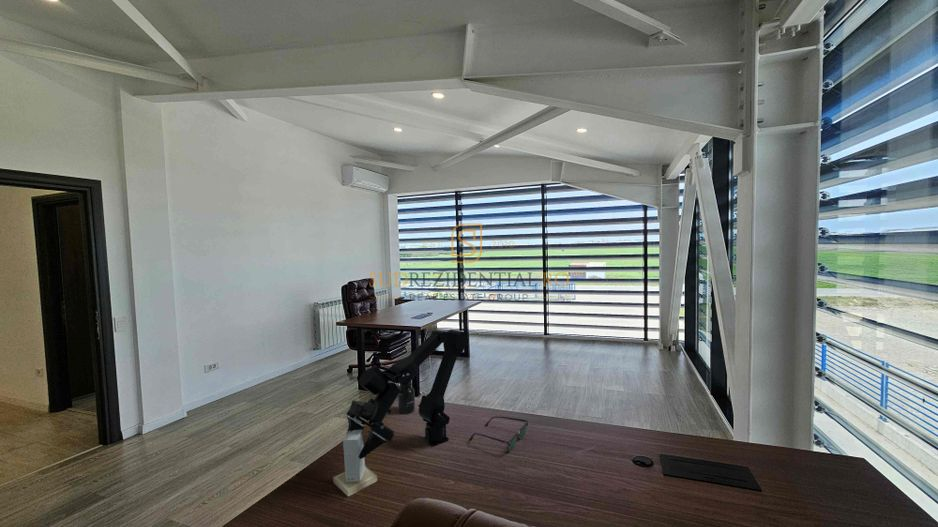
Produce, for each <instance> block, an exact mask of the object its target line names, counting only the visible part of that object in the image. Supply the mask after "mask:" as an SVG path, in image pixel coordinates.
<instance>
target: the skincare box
mask: <svg viewBox="0 0 938 527" xmlns="http://www.w3.org/2000/svg"><path fill="white" fill-rule="evenodd" d="M347 431H348V430H347ZM342 444H343V445H342V447H343V457H344V460H343V461H344V462H343V463H344V472H345V478H346V482H360V481H361V479H362V477H363V474H364V471H365V467H366V462H365V457H364V458H362V459H360V458H359V454H360V452H361V450H362V448H363V447H364V435H363V430H352V431H348V433H347V432H346V434H345V436H344V439H343V441H342Z"/></svg>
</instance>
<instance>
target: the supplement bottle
mask: <svg viewBox="0 0 938 527" xmlns="http://www.w3.org/2000/svg"><path fill="white" fill-rule="evenodd" d="M400 385H401V386H403V387H404V391H405V396H403V395H400V394H399V395H398V396H397V404H398V405H397V408H398V413H400V414H402V415H407V414H412V413H413V412H415V409H416V408H415V407H416V405H415V404H416V402H415V401H416V400H415V399H416V396H415V389H414V387H413V382H412V381H411V382H410V383H409V384H407V385H402V384H400V383H399V386H400Z"/></svg>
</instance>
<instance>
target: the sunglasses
mask: <svg viewBox="0 0 938 527" xmlns="http://www.w3.org/2000/svg"><path fill="white" fill-rule="evenodd" d="M495 418H497V419H498V418H499V419H506V420H512V421H518V422H523V423H524V424H523V425H522V426H521V428H520V429H519V430H518V432H515V434H514V435H513V437H512V438H510V439H509V440H508V441H506V440H503V439H499V438H496V437H492V436H489V435H485V434H482V433H478V432H477V433H476V432H475V433H473V434H472V435H471V437H470V438H471V439H470V440H472V439H473V438H474V436H475V435H477V436H481V437H484V438H488V439H491V440H493V441H498V442H500V443H503V444H507V445H508V448H509V449H508V450H509V452H510V453H511V452H512V451H513V450H514V449H515V447H516V444H517V440H518V438H519V439H520V440H523V439H524V437H525V436H526V433H527V430H528V429H527V428H528V426H529V422H530V421H529V420H528V419H523V418H515V417H509V416H493V417H491V418H490V419H489V420H488V421H487V422H486V423H485V425H484V427H488V425H489V423H490V422H491V420H492V419H495ZM517 437H518V438H517Z"/></svg>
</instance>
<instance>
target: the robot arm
mask: <svg viewBox="0 0 938 527" xmlns="http://www.w3.org/2000/svg"><path fill="white" fill-rule="evenodd" d="M468 340H469V337H468V334H467V333H466V332H465V331H462V330H455V329H449V330H447V331H445V330H444V331H443V330H439V329H434V330H433V331H432V332H431V333H430V334H429V336H427V338H426V339H425V340H423V341H422V342H421V343H420V344H419V346H417V348H415V349H414V350H413V351H412V352H411V353H410V354H409V355H408V356H406V357H403V358H401V359H399V360H398V361H396V362H394V363H393V364H392V365H391V366H390V367H388V368H387V369H385V370H381V369H380V367H378V366H376V365H372V367H371V368H368V369H367V370H365V371H364V372H363V373H362V374H361V375H360V377H359V380H358V383H359V384H358V385H359V386H361V387H362V388H363V389H365V390H366V391H368V392H369V393H371V394H372V395H373V396H375V397H374V399H373V397H372V398H371V397H370V399H369V400H368V401H367V402H366V401H359V400H355V399H354V400H352V401H351V405H350V407H349V409H348V411H347V412H346V415H347V417H346V419H347V421H348V422H347V423H348V428H347V430H346V431H347V432H346V434H347V433H348V431H352V430H362V431H363V430H364V428H365V427H364V426H365V425H366V426H367V427H368V428H370V429H369V430H368V431H367V435H368V436H367V439H366V441H365V443H364V444H363V446H364V447H363V448H362V450H361V452H360V454H359V458H360V459H362V458H364V459H365V457H367V455H369V454H371V453H372V452H374V450H376V449H377V448H379V447H380V446H382V445H384V444H387V443H388V442H391V441H393V440H392V439H393V438H394V436H395V432H394V430H392V429H391V428H389V427H388V426H386V425H385V424H384V423H383V421H384V419H385V418H386V416H387V415H388V414H389V415H391V414H392V410H391V408H392V406H393V404H394V403H395V401H397V400H396V399H398V395H399V394H400V395H403V396H405V391H404V387H403V386H401V385H400V384H402V385H407V384H409V383H410V382H412V381H413V379H415V377H416V375H417V374H418V371H419V368H420V366H421V365H422V364H423V363H424V362H425V361H426V360H427V359H428V358H429V357H430V356H431V355H432V354H433V353H434V352H435V351H436V350H437V349H438V348H439V347H440V346H441V345H442V344H443V355H442V358H441V361H440V363H439V366H438V368H437V369H438V370H437V372H436V375H435V378H434V380H433V384H432V386H431V389H430V392H428V393H427V395H424V394H423V395H422V396H421V399H420V403H419V404H418V414H419V416H420V418H422V421H423V422H425V428H424V434H425V435H424V440H425V441H426V442H428V444H429V445H431V446H432V447H435V446H438V445H440V444H442V443H445V442H448V441H449V440H450V438H449V437H448V436H447V425H448V424H450V419H451V417H450V416H448V415H447V414H446V413H445V412H444V411H445V408H446V404H445V394H446V391H447V388H448V385H449V382H450V379H451V376H452V373H453V370H454V367H455V365H456V361H457V358H458V357H459V356H460V355H461V354H462V353H463V351H464V350H465V348H466V347H467V344H468ZM397 384H399V385H397ZM370 430H371V431H370Z"/></svg>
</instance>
